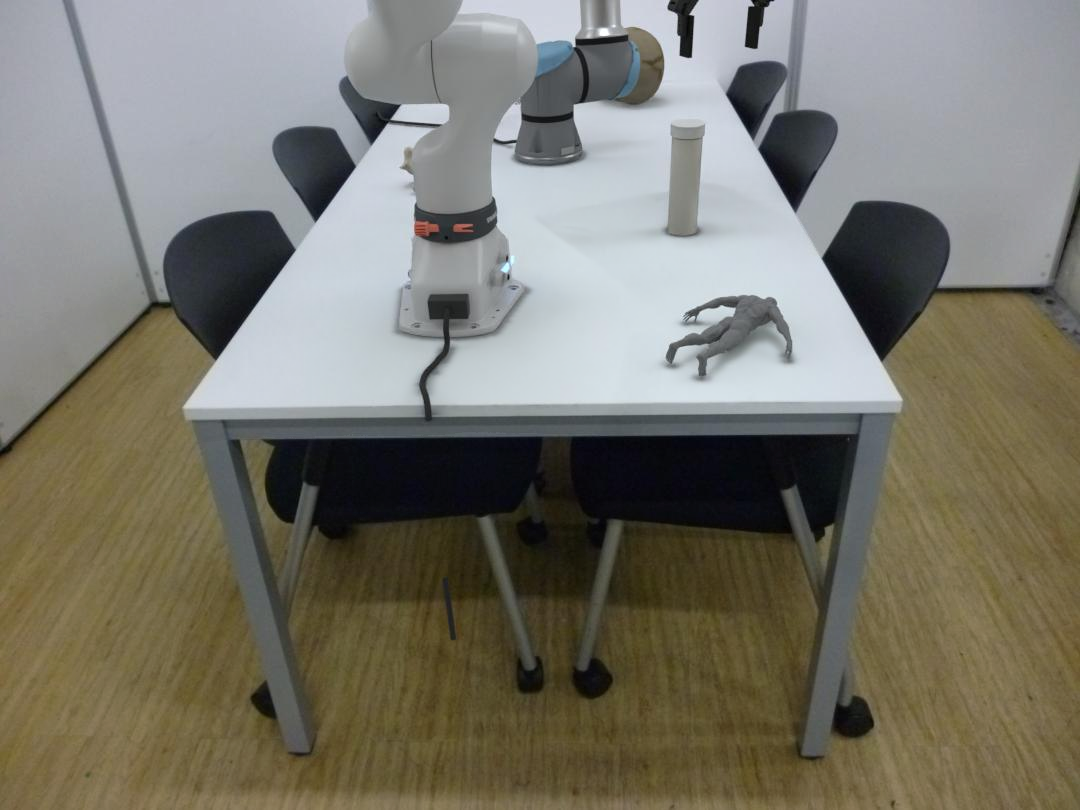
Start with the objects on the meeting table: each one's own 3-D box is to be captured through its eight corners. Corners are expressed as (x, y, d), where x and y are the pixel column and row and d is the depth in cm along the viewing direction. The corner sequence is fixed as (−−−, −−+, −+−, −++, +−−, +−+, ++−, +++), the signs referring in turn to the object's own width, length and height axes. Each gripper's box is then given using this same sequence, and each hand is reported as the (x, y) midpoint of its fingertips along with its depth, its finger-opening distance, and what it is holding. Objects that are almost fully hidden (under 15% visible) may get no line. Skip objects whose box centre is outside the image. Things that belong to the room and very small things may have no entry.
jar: (686, 223, 149) (692, 120, 140) (702, 232, 145) (709, 126, 136) (662, 228, 148) (666, 124, 138) (677, 238, 144) (683, 131, 134)
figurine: (740, 398, 101) (827, 332, 111) (741, 369, 98) (830, 304, 109) (633, 353, 111) (722, 297, 122) (633, 326, 108) (724, 270, 119)
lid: (692, 128, 141) (693, 116, 140) (711, 136, 136) (712, 124, 135) (663, 133, 139) (664, 121, 138) (682, 141, 135) (682, 129, 133)
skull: (629, 73, 244) (653, 2, 221) (655, 132, 236) (683, 64, 214) (578, 80, 240) (598, 7, 217) (603, 139, 232) (626, 71, 210)
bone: (420, 170, 164) (410, 138, 170) (401, 193, 168) (392, 160, 173) (460, 189, 171) (449, 158, 177) (441, 211, 175) (432, 179, 180)
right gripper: (675, -86, 125) (669, 64, 137) (807, -95, 134) (791, 47, 145) (649, -87, 131) (645, 57, 143) (777, -96, 140) (763, 41, 151)
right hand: (718, 52), depth 144 cm, fingers open, 13 cm apart
